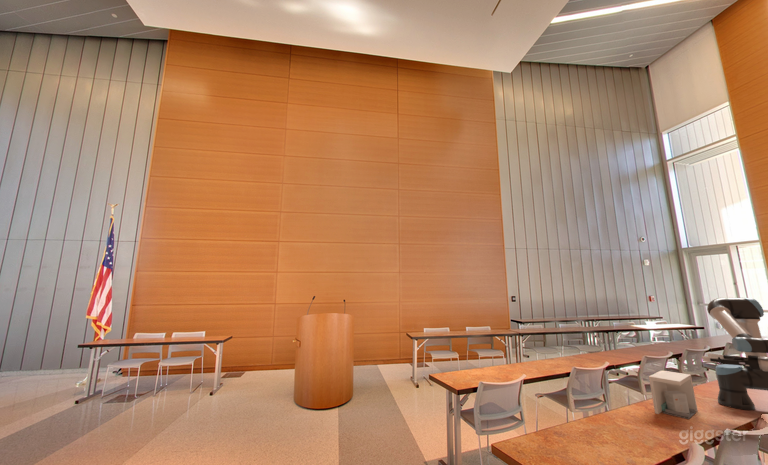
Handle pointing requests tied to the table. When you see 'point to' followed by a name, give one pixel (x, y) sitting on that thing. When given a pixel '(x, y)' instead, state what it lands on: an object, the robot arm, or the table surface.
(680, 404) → the small box
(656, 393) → the cabinet
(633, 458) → the table surface
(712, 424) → the table surface
